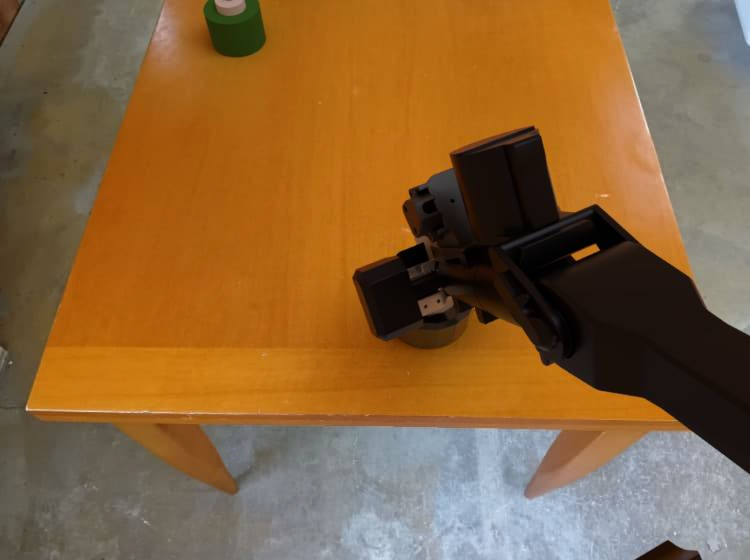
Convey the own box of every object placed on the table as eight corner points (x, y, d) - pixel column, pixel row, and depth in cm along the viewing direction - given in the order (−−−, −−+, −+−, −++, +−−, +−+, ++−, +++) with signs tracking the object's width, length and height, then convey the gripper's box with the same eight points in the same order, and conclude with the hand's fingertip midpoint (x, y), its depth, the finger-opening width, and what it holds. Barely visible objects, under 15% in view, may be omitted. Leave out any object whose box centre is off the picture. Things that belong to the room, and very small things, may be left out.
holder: (488, 313, 63) (495, 292, 59) (425, 366, 60) (428, 348, 56) (428, 259, 67) (431, 236, 63) (365, 306, 63) (364, 285, 60)
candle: (238, 64, 86) (222, 1, 77) (201, 42, 88) (182, -20, 80) (276, 37, 89) (266, -26, 81) (239, 17, 92) (225, -46, 83)
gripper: (590, 130, 41) (487, 145, 56) (356, 219, 37) (311, 210, 52) (622, 271, 44) (516, 250, 59) (407, 369, 40) (351, 320, 55)
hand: (427, 255), depth 56 cm, fingers closed on salt shaker, 3 cm apart
